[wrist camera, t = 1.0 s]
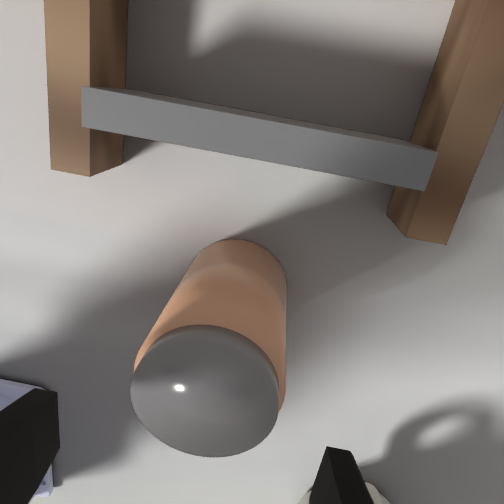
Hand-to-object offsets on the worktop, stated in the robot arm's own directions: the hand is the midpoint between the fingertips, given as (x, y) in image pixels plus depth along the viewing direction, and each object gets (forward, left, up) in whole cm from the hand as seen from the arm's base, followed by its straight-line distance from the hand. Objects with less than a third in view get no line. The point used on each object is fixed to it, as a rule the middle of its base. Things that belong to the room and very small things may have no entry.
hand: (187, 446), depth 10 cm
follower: (+8, 0, -9) cm, 12 cm away
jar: (0, 0, -9) cm, 9 cm away
